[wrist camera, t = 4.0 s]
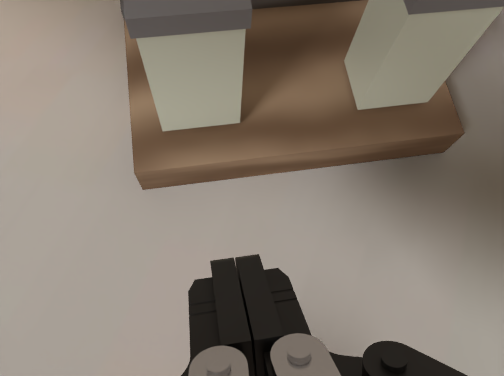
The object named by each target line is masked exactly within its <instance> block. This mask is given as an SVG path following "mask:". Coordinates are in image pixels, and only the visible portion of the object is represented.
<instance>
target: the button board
mask: <svg viewBox="0 0 504 376" xmlns="http://www.w3.org/2000/svg"><path fill="white" fill-rule="evenodd" d="M368 1H369V0H251V5H252V20H251V28H250V29H246V31H245V48H244V64H243V81H242V97H241V114H240V123H235V124H226V125H217V126H208V127H199V128H190V129H180V130H171V131H162V127H161V124H160V120H159V117H158V113H157V110H156V106H155V103H154V100H153V96H152V93H151V89H150V86H149V82H148V79H147V75H146V72H145V68H144V65H143V61H142V58H141V54H140V51H139V47H138V44H137V40H136V38H135V39H131V38H130V35H129V32H128V29H127V25H126V22H125V17H124V2H123V0H120V4H121V12H122V15H123V18H124V27H125V42H126V57H127V72H128V87H129V102H130V116H131V131H132V146H133V161H134V173H135V175H136V177H137V179H138V181H139V183H140V185H141V187H142V189H143V190H145V189H153V188H161V187H169V186H177V185H185V184H193V183H201V182H209V181H217V180H226V179H234V178H242V177H250V176H258V175H266V174H274V173H282V172H290V171H298V170H306V169H314V168H322V167H330V166H338V165H346V164H354V163H362V162H371V161H379V160H387V159H395V158H403V157H411V156H419V155H427V154H435V153H443V152H445V151H446V150H447V149H448V148H449V147H450V146H451V145H452V144H453V143H454V142H456V141H457V140H458V139H459V138H460V137H461V136H462V135H463V134H464V130H463V128H462V125H461V122H460V119H459V117H458V114H457V111H456V109H455V106H454V103H453V100H452V98H451V95H450V92H449V90H448V87H447V84H446V81H444V83H443V84H442V85H441V86H440V88H439V89H438V90H437V91H436V93H435V94H434V95H433V96H432V98H431V99H430V100H429V101H428V102H425V103H416V104H407V105H398V106H389V107H380V108H371V109H362V110H358V109H357V106H356V102H355V99H354V95H353V91H352V88H351V84H350V81H349V77H348V73H347V70H346V66H345V63H344V60H345V57H346V55H347V52H348V50H349V47H350V45H351V42H352V40H353V38H354V35H355V33H356V30H357V28H358V25H359V23H360V20H361V18H362V15H363V13H364V10H365V8H366V5H367V3H368Z"/></svg>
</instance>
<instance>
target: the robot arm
mask: <svg viewBox="0 0 504 376" xmlns="http://www.w3.org/2000/svg"><path fill="white" fill-rule="evenodd" d="M235 261H236V266H235ZM235 261H234V258H228V259H220V260H213V261H210V262H211V270H212V277H211V278H204V279H197V280H195V281H194V282H193V284H192V286H191V288H190V290H189V291H188V296H189V325H190V362H189V365H188V367H187V369H186V370H185V372H184V373H183V374H182V375H181V376H467V375H465V374H463V373H461V372H459V371H457V370H455V369H453V368H451V367H449V366H447V365H445V364H443V363H441V362H439V361H437V360H435V359H433V358H431V357H429V356H427V355H425V354H423V353H421V352H419V351H417V350H415V349H413V348H411V347H409V346H407V345H404V344H402V343H398V342H394V341H381V342H377V343H374V344H372V345H370V346H369V347H368V348H367V349H366V350H365V352H364V354H363V358H362V357H352V356H343V355H338V354H334V353H331V352H329V351H328V350H327V348H326V347H325V345H324V344H323V343H322V342H321V341H320V340H319V339H317V338H315V337H313V336H312V335H311V333H310V330H309V328H308V325H307V323H306V320H305V318H304V315H303V313H302V310H301V307H300V305H299V302H298V300H297V297H296V295H295V292H294V291H293V287H292V285H291V282H290V280H289V277H288V276H287V275H286V274H284V273H283V272H282V271H281V270H280V269H278V268H275V269H268V270H264V269H263V266H262V262H261V259H260V256H259V254H257V255H250V256H243V257H236V258H235Z"/></svg>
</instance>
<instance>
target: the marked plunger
mask: <svg viewBox="0 0 504 376" xmlns="http://www.w3.org/2000/svg"><path fill="white" fill-rule="evenodd" d="M123 2H124V17H125V22H126V25H127V29H128V32H129V35H130V38H131V39H135V38H136V40H137V44H138V47H139V51H140V54H141V58H142V61H143V65H144V68H145V72H146V75H147V79H148V82H149V86H150V89H151V93H152V96H153V100H154V103H155V106H156V110H157V113H158V117H159V120H160V124H161V127H162V131H171V130H180V129H190V128H199V127H208V126H217V125H226V124H235V123H240V114H241V97H242V81H243V64H244V48H245V31H246V29H250V28H251V20H252V5H251V0H123Z"/></svg>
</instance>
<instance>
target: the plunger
mask: <svg viewBox="0 0 504 376" xmlns="http://www.w3.org/2000/svg"><path fill="white" fill-rule="evenodd" d="M503 8H504V0H369V1H368V3H367V5H366V8H365V10H364V13H363V15H362V18H361V20H360V23H359V25H358V28H357V30H356V33H355V35H354V38H353V40H352V42H351V45H350V47H349V50H348V52H347V55H346V57H345V60H344V63H345V66H346V70H347V73H348V77H349V81H350V84H351V88H352V91H353V95H354V99H355V102H356V106H357V109H358V110H362V109H371V108H380V107H389V106H398V105H407V104H416V103H425V102H428V101H429V100H430V99H431V98H432V96H433V95H434V94H435V93H436V91H437V90H438V89H439V88H440V86H441V85H442V84H443V83H444V81H445V80H446V79H447V78H448V76H449V75H450V74H451V73H452V72H453V70H454V69H455V68H456V67H457V65H458V64H459V63H460V62H461V60H462V59H463V58H464V57H465V55H466V54H467V53H468V52H469V50H470V49H471V48H472V47H473V45H474V44H475V43H476V42H477V41H478V39H479V38H480V37H481V36H482V34H483V33H484V32H485V31H486V29H487V28H488V27H489V26H490V24H491V23H492V22H493V21H494V19H495V18H496V17H497V16H498V15H499V13H500V12H501V11H502V10H503Z"/></svg>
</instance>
